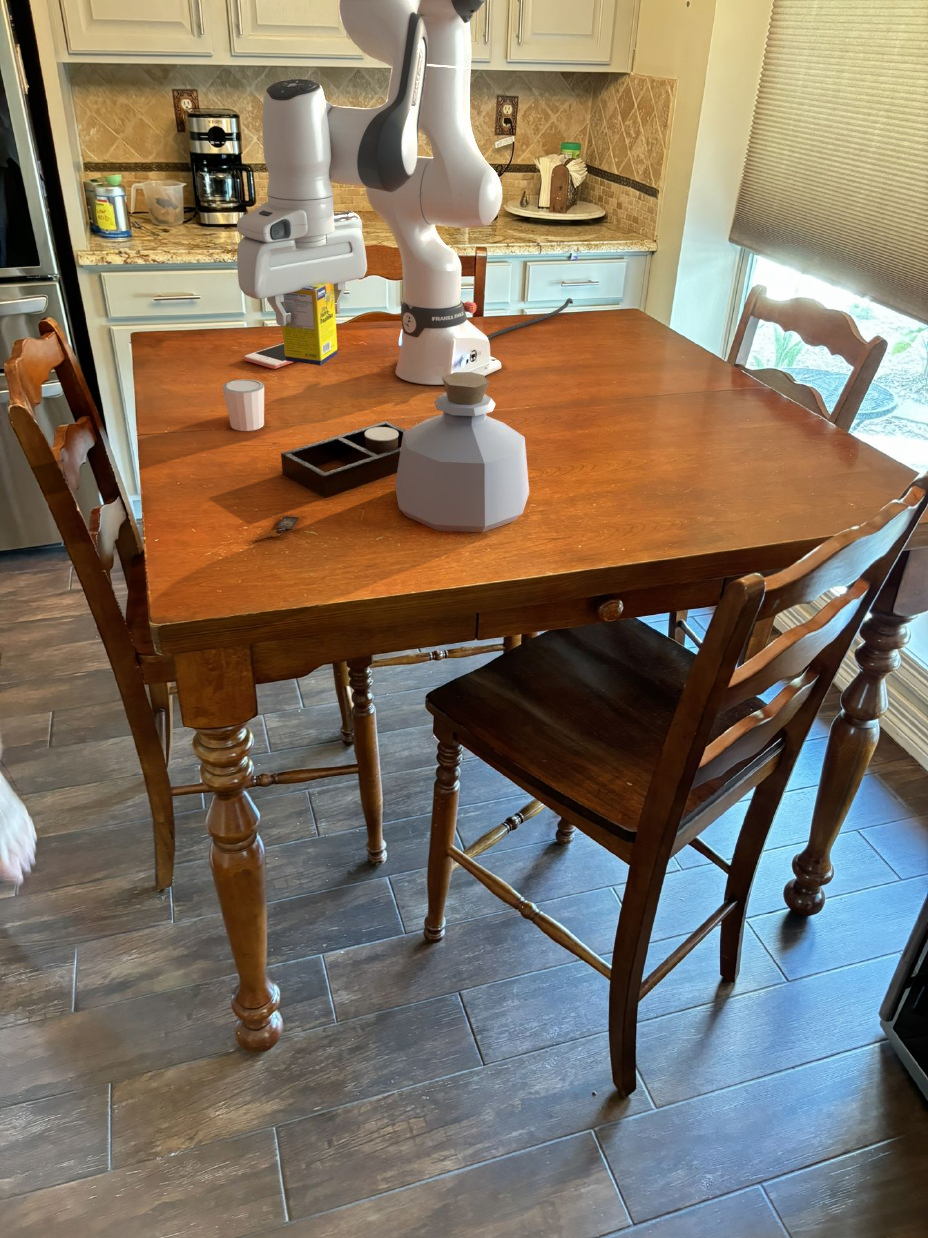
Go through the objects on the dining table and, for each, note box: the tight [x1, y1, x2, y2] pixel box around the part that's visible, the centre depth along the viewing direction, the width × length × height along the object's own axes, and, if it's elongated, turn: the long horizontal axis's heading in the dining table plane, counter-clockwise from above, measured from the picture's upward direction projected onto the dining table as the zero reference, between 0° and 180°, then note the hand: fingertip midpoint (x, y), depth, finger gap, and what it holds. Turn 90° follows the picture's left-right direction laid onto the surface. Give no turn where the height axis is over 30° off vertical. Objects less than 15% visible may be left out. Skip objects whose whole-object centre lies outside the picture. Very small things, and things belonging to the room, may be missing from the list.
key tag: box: [255, 515, 299, 542], centre depth 125 cm, size 8×3×1 cm, turn 159°
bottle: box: [394, 372, 530, 533], centre depth 129 cm, size 20×20×19 cm
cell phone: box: [244, 342, 294, 370], centre depth 189 cm, size 9×18×1 cm, turn 145°
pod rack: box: [280, 420, 407, 499], centre depth 143 cm, size 21×11×4 cm, turn 134°
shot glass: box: [222, 378, 265, 432], centre depth 155 cm, size 7×7×7 cm
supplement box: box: [280, 282, 338, 366], centre depth 133 cm, size 6×6×11 cm
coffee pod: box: [365, 427, 399, 455], centre depth 146 cm, size 5×5×4 cm
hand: (308, 318), depth 133 cm, fingers closed on supplement box, 7 cm apart
